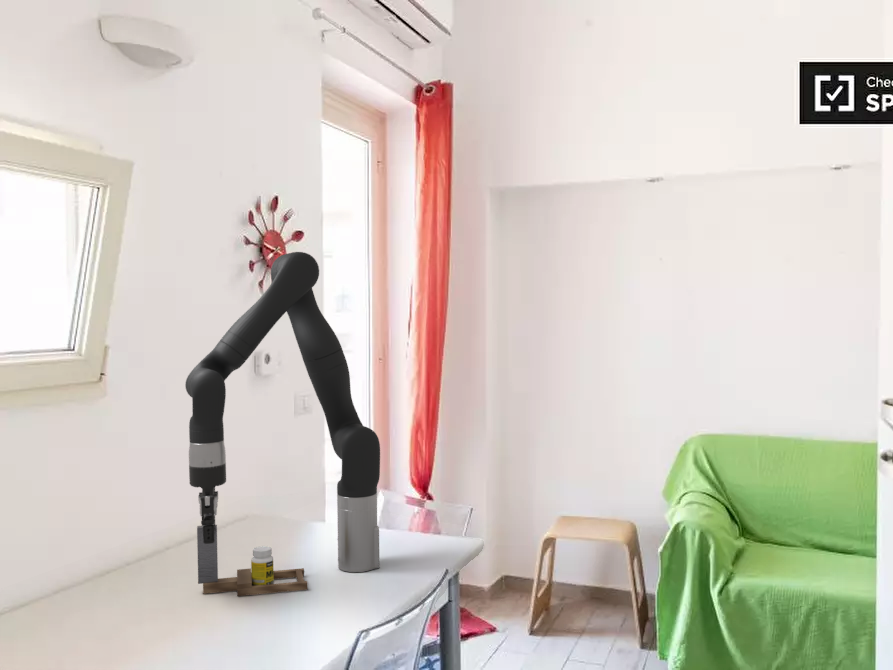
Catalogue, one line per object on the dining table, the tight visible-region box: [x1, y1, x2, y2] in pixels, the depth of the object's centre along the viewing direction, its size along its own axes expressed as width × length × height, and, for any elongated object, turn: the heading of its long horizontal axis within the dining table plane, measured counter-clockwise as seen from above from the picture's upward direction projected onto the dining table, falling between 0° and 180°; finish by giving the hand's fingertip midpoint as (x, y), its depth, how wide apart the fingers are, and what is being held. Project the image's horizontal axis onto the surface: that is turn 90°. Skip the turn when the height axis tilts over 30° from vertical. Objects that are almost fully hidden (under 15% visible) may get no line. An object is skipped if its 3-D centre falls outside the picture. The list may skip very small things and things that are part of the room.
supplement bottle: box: [250, 545, 275, 586], centre depth 176 cm, size 5×5×8 cm
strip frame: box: [196, 524, 309, 597], centre depth 176 cm, size 23×10×14 cm, turn 104°
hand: (209, 537), depth 173 cm, fingers open, 8 cm apart
